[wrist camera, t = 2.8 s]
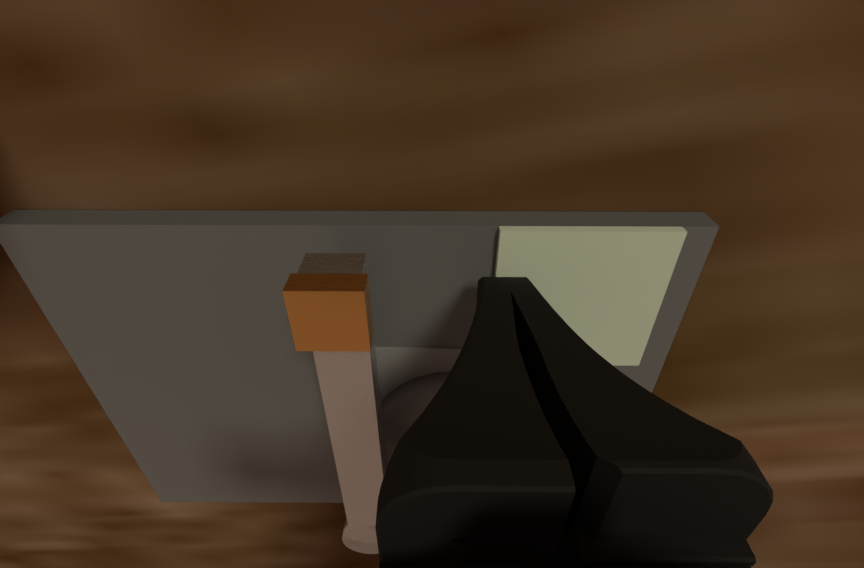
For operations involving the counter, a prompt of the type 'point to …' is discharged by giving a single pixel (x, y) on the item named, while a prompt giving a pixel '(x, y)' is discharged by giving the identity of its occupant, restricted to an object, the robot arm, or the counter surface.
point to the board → (270, 324)
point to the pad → (597, 278)
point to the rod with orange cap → (344, 378)
